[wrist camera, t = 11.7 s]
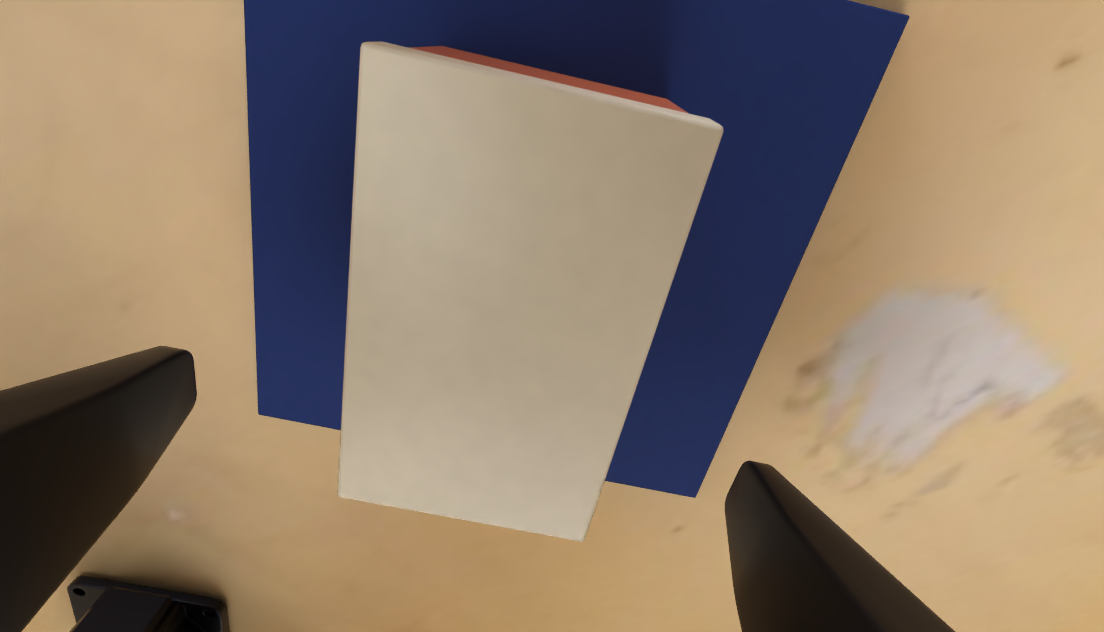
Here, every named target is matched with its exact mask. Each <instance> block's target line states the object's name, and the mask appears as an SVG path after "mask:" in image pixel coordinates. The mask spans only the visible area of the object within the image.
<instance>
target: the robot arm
mask: <svg viewBox="0 0 1104 632" xmlns="http://www.w3.org/2000/svg"><path fill="white" fill-rule="evenodd" d="M196 396H197V390H196V380H195V369H194V360H193V356H192V354H191V353H190V352H188V351H187V350H183V349H178V348H173V347H168V346H158V347H154V348H151V349H147V350H144V351H140V352H137V353H133V354H129V355H126V356H122V357H119V358H115V359H112V360H108V361H105V362H101V363H97V364H94V365H90V366H87V367H83V368H80V369H76V370H73V371H69V372H65V373H62V374H58V375H55V376H51V377H48V378H44V379H41V380H37V381H34V382H30V383H26V384H23V385H19V386H16V387H12V388H9V389H5V390H2V391H0V632H22V630H23V629H24V628H25V627H26V625H27V624H28V623H29V622H30V621H31V619H32V618H33V617H34V616H35V615H36V613H37V612H38V611H39V610H40V609H41V607H42V606H43V605H44V604H45V602H46V601H47V600H48V599H49V598H50V596H51V595H52V594H53V593H54V592H55V590H56V589H57V588H58V587H59V586H60V584H61V583H62V582H63V581H64V580H65V578H66V577H67V576H68V575H69V573H70V572H71V571H72V570H73V569H74V567H75V566H76V565H77V564H78V563H79V561H80V560H81V559H82V558H83V557H84V555H85V554H86V553H87V552H88V550H89V549H90V548H91V547H92V546H93V544H94V543H95V542H96V541H97V540H98V538H99V537H100V536H101V535H102V534H103V532H104V531H105V530H106V529H107V527H108V526H109V525H110V524H111V523H112V521H113V520H114V519H115V518H116V517H117V515H118V514H119V513H120V512H121V511H122V509H123V508H124V507H125V506H126V504H127V503H128V502H129V501H130V499H131V498H132V497H133V496H134V494H135V493H136V492H137V491H138V489H139V488H140V486H141V485H142V484H143V482H144V481H145V479H146V478H147V476H148V475H149V473H150V472H151V470H152V469H153V467H154V466H155V464H156V463H157V461H158V460H159V458H160V457H161V455H162V454H163V452H164V451H165V449H166V448H167V446H168V445H169V443H170V442H171V440H172V439H173V437H174V436H175V434H176V433H177V431H178V430H179V428H180V427H181V425H182V424H183V422H184V421H185V419H186V418H187V416H188V415H189V413H190V412H191V410H192V408H193V406H194V404H195V401H196ZM725 516H726V525H727V534H728V543H729V552H730V561H731V570H732V579H733V587H734V594H735V600H736V605H737V610H738V615H739V620H740V624H741V629H742V632H955V631H954V630H953V629H952V628H951V627H949V626H948V625H947V624H946V623H945V622H944V621H943V620H942V619H941V618H939V617H938V616H937V615H936V614H935V613H934V612H933V611H932V610H931V609H930V608H928V607H927V606H926V605H925V604H924V603H923V602H922V601H921V600H920V599H918V598H917V597H916V596H915V595H914V594H913V593H912V592H911V591H910V590H909V589H907V588H906V587H905V586H904V585H903V584H902V583H901V582H900V581H899V580H897V579H896V578H895V577H894V576H893V575H892V574H891V573H890V572H889V571H887V570H886V569H885V568H884V567H883V566H882V565H881V564H880V563H879V562H878V561H876V560H875V559H874V558H873V557H872V556H871V555H870V554H869V553H868V552H866V551H865V550H864V549H863V548H862V547H861V546H860V545H859V544H858V543H857V542H855V541H854V540H853V539H852V538H851V537H850V536H849V535H848V534H847V533H845V532H844V531H843V530H842V529H841V528H840V527H839V526H838V525H837V524H836V523H834V522H833V521H832V520H831V519H830V518H829V517H828V516H827V515H826V514H824V513H823V512H822V511H821V510H820V509H819V508H818V507H817V506H816V505H814V504H813V503H812V502H811V501H810V500H809V499H808V498H807V497H806V496H805V495H803V494H802V493H801V492H800V491H799V490H798V489H797V488H796V487H795V486H793V485H792V484H791V483H790V482H789V481H788V480H787V479H786V478H785V477H784V476H782V475H781V474H780V473H779V472H778V471H777V470H776V469H775V468H774V467H772V466H771V465H768V464H764V463H759V462H754V461H746V462H744V463H743V464H742V466H741V467H740V469H739V471H738V473H737V476H736V478H735V480H734V482H733V484H732V486H731V488H730V490H729V492H728V494H727V497H726V501H725ZM67 590H68V594H69V597H70V601H71V604H72V608H73V612H74V615H75V619H76V622H77V624H76V625H75V626H74V627H73V628H72V630H71V631H70V632H228V622H227V610H226V605H225V604H224V603H223V602H222V601H220V600H219V599H215V598H210V597H204V596H198V595H193V594H187V593H181V592H175V591H169V590H163V589H157V588H152V587H146V586H140V585H134V584H128V583H122V582H116V581H111V580H105V579H99V578H93V577H87V576H79V577H77V578H76V579H75V580H74V581H73V582H72V583H71V584H70V585H69V586H68V589H67Z"/></svg>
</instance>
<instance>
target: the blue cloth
mask: <svg viewBox="0 0 1104 632" xmlns="http://www.w3.org/2000/svg"><path fill="white" fill-rule="evenodd" d="M244 15H245V44H246V72H247V101H248V130H249V158H250V187H251V216H252V244H253V273H254V302H255V331H256V359H257V388H258V414H259V415H264V416H270V417H275V418H280V419H285V420H290V421H296V422H301V423H306V424H311V425H317V426H322V427H327V428H332V429H338V430H341V418H342V398H343V379H344V359H345V340H346V320H347V301H348V281H349V262H350V242H351V222H352V203H353V183H354V164H355V144H356V125H357V105H358V86H359V66H360V47H361V45H362V43H363V42H386V43H391V44H395V45H399V46H403V47H408V48H409V47H429V46H445V47H449V48H453V49H458V50H462V51H466V52H470V53H475V54H479V55H483V56H487V57H492V58H496V59H500V60H504V61H508V62H513V63H517V64H521V65H525V66H530V67H534V68H538V69H542V70H547V71H551V72H555V73H559V74H564V75H568V76H572V77H576V78H580V79H585V80H589V81H593V82H597V83H602V84H606V85H610V86H614V87H619V88H623V89H627V90H631V91H636V92H640V93H644V94H648V95H652V96H657V97H661V98H665V99H668V100H669V101H671V102H672V103H674V104H675V105H677V106H679V107H680V108H682V109H683V110H685V111H686V112H688V113H689V114H693V115H697V116H701V117H705V118H710V119H711V120H713V121H715V122H716V123H718V124H720V125H721V126H722V127H723V134H722V137H721V140H720V143H719V146H718V149H717V152H716V155H715V158H714V161H713V163H712V166H711V169H710V172H709V175H708V178H707V181H706V184H705V187H704V190H703V193H702V196H701V199H700V202H699V205H698V208H697V210H696V213H695V216H694V219H693V222H692V225H691V228H690V231H689V234H688V237H687V240H686V243H685V246H684V249H683V252H682V255H681V257H680V260H679V263H678V266H677V269H676V272H675V275H674V278H673V281H672V284H671V287H670V290H669V293H668V296H667V299H666V302H665V304H664V307H663V310H662V313H661V316H660V319H659V322H658V325H657V328H656V331H655V334H654V337H653V340H652V343H651V346H650V349H649V351H648V354H647V357H646V360H645V363H644V366H643V369H642V372H641V375H640V378H639V381H638V384H637V387H636V390H635V393H634V396H633V398H632V401H631V404H630V407H629V410H628V413H627V416H626V419H625V422H624V425H623V428H622V431H621V434H620V437H619V440H618V443H617V445H616V448H615V451H614V454H613V457H612V460H611V463H610V466H609V469H608V472H607V475H606V478H605V481H610V482H615V483H620V484H625V485H631V486H636V487H641V488H646V489H652V490H657V491H662V492H667V493H673V494H678V495H683V496H688V497H694V498H695V497H696V495H697V493H698V491H699V488H700V486H701V484H702V482H703V479H704V477H705V475H706V473H707V470H708V468H709V466H710V464H711V461H712V459H713V457H714V455H715V452H716V450H717V448H718V446H719V444H720V441H721V439H722V437H723V435H724V432H725V430H726V428H727V426H728V423H729V421H730V419H731V417H732V414H733V412H734V410H735V408H736V405H737V403H738V401H739V399H740V396H741V394H742V392H743V390H744V387H745V385H746V383H747V381H748V378H749V376H750V374H751V372H752V369H753V367H754V365H755V363H756V360H757V358H758V356H759V354H760V351H761V349H762V347H763V345H764V342H765V340H766V338H767V336H768V333H769V331H770V329H771V327H772V325H773V322H774V320H775V318H776V316H777V313H778V311H779V309H780V307H781V304H782V302H783V300H784V298H785V295H786V293H787V291H788V289H789V286H790V284H791V282H792V280H793V277H794V275H795V273H796V271H797V268H798V266H799V264H800V262H801V259H802V257H803V255H804V253H805V250H806V248H807V246H808V244H809V241H810V239H811V237H812V235H813V232H814V230H815V228H816V226H817V223H818V221H819V219H820V217H821V214H822V212H823V210H824V208H825V206H826V203H827V201H828V199H829V197H830V194H831V192H832V190H833V188H834V185H835V183H836V181H837V179H838V176H839V174H840V172H841V170H842V167H843V165H844V163H845V161H846V158H847V156H848V154H849V152H850V149H851V147H852V145H853V143H854V140H855V138H856V136H857V134H858V131H859V129H860V127H861V125H862V122H863V120H864V118H865V116H866V113H867V111H868V109H869V107H870V104H871V102H872V100H873V98H874V95H875V93H876V91H877V89H878V87H879V84H880V82H881V80H882V78H883V75H884V73H885V71H886V69H887V66H888V64H889V62H890V60H891V57H892V55H893V53H894V51H895V48H896V46H897V44H898V42H899V39H900V37H901V35H902V33H903V30H904V28H905V26H906V24H907V21H908V19H909V16H908V15H904V14H900V13H896V12H892V11H888V10H884V9H880V8H876V7H872V6H868V5H864V4H860V3H856V2H852V1H848V0H244Z"/></svg>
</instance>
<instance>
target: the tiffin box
mask: <svg viewBox="0 0 1104 632" xmlns="http://www.w3.org/2000/svg"><path fill="white" fill-rule="evenodd" d="M722 134H723V127H722V126H721V125H720V124H718V123H716V122H715V121H713V120H711V119H710V118H705V117H701V116H697V115H693V114H689V113H688V112H686V111H685V110H683V109H682V108H680V107H679V106H677V105H675V104H674V103H672V102H671V101H669V100H668V99H665V98H661V97H657V96H652V95H648V94H644V93H640V92H636V91H631V90H627V89H623V88H619V87H614V86H610V85H606V84H602V83H597V82H593V81H589V80H585V79H580V78H576V77H572V76H568V75H564V74H559V73H555V72H551V71H547V70H542V69H538V68H534V67H530V66H525V65H521V64H517V63H513V62H508V61H504V60H500V59H496V58H492V57H487V56H483V55H479V54H475V53H470V52H466V51H462V50H458V49H453V48H449V47H445V46H429V47H409V48H408V47H403V46H399V45H395V44H391V43H386V42H363V43H362V45H361V47H360V66H359V86H358V105H357V125H356V144H355V164H354V183H353V203H352V222H351V242H350V262H349V281H348V301H347V320H346V340H345V359H344V379H343V398H342V418H341V437H340V457H339V476H338V496H339V497H342V498H347V499H353V500H358V501H363V502H369V503H374V504H380V505H385V506H390V507H396V508H401V509H407V510H412V511H418V512H423V513H428V514H434V515H439V516H445V517H450V518H455V519H461V520H466V521H472V522H477V523H482V524H488V525H493V526H499V527H504V528H509V529H515V530H520V531H526V532H531V533H537V534H542V535H547V536H553V537H558V538H564V539H569V540H574V541H580V542H581V541H584V539H585V537H586V534H587V531H588V528H589V525H590V522H591V519H592V516H593V513H594V510H595V507H596V504H597V501H598V498H599V495H600V492H601V490H602V487H603V484H604V481H605V478H606V475H607V472H608V469H609V466H610V463H611V460H612V457H613V454H614V451H615V448H616V445H617V443H618V440H619V437H620V434H621V431H622V428H623V425H624V422H625V419H626V416H627V413H628V410H629V407H630V404H631V401H632V398H633V396H634V393H635V390H636V387H637V384H638V381H639V378H640V375H641V372H642V369H643V366H644V363H645V360H646V357H647V354H648V351H649V349H650V346H651V343H652V340H653V337H654V334H655V331H656V328H657V325H658V322H659V319H660V316H661V313H662V310H663V307H664V304H665V302H666V299H667V296H668V293H669V290H670V287H671V284H672V281H673V278H674V275H675V272H676V269H677V266H678V263H679V260H680V257H681V255H682V252H683V249H684V246H685V243H686V240H687V237H688V234H689V231H690V228H691V225H692V222H693V219H694V216H695V213H696V210H697V208H698V205H699V202H700V199H701V196H702V193H703V190H704V187H705V184H706V181H707V178H708V175H709V172H710V169H711V166H712V163H713V161H714V158H715V155H716V152H717V149H718V146H719V143H720V140H721V137H722Z"/></svg>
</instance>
